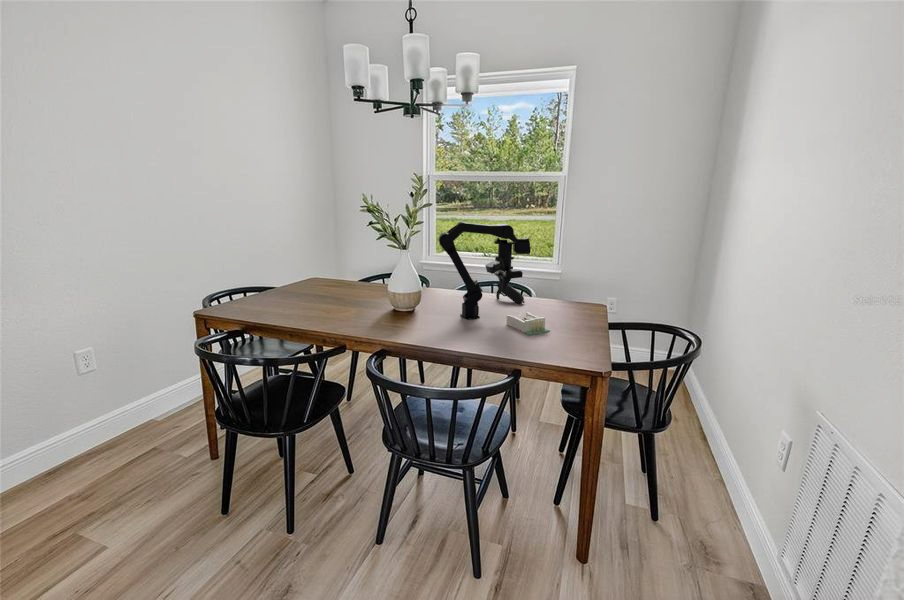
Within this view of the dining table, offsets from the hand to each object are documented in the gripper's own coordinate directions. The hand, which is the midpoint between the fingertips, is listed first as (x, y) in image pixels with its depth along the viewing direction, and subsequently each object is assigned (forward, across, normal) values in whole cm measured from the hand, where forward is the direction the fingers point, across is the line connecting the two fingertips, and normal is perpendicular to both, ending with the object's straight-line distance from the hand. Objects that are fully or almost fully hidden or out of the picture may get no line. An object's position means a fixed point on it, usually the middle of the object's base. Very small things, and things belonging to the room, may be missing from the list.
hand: (503, 290), depth 182 cm
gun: (+12, -18, +17) cm, 28 cm away
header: (+12, +17, +1) cm, 21 cm away
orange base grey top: (+12, +18, +1) cm, 22 cm away
